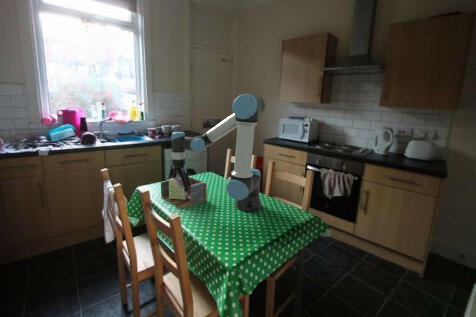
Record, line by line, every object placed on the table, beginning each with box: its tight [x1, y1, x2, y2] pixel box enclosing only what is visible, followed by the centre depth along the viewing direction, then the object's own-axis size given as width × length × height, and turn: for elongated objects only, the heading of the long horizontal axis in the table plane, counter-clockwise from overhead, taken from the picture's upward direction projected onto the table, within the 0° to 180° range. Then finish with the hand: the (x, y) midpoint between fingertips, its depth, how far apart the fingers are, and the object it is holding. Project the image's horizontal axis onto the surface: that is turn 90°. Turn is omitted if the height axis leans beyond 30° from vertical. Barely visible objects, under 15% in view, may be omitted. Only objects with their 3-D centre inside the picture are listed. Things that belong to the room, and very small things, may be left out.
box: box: [168, 177, 188, 200], centre depth 153 cm, size 10×6×12 cm, turn 84°
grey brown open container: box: [160, 175, 208, 210], centre depth 156 cm, size 22×18×12 cm
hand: (179, 193), depth 153 cm, fingers closed on box, 11 cm apart
